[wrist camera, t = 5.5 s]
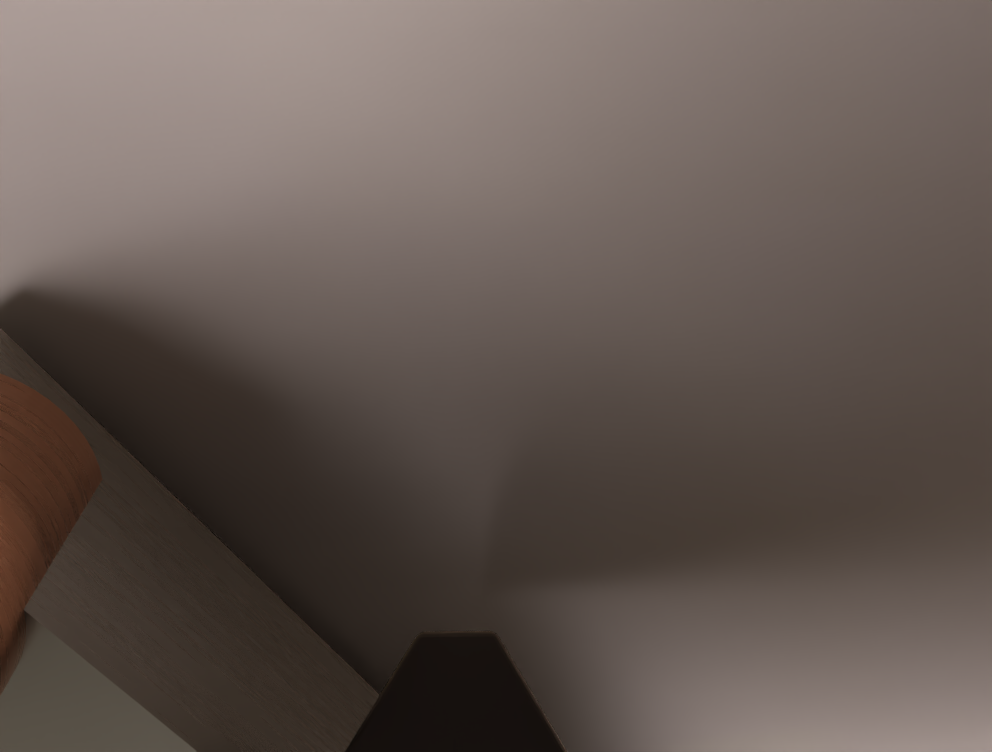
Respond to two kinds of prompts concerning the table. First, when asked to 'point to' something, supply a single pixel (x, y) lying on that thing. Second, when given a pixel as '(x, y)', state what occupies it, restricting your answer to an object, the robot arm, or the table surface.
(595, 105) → the table surface
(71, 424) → the lever
